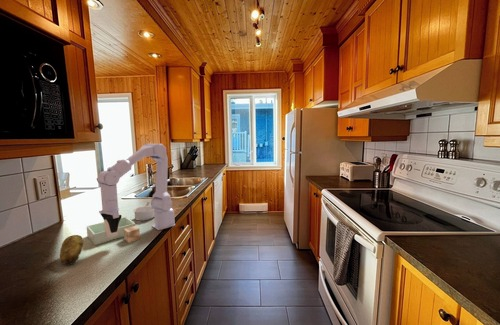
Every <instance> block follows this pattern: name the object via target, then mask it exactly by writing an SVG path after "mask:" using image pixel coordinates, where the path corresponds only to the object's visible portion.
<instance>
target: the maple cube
mask: <svg viewBox="0 0 500 325" xmlns="http://www.w3.org/2000/svg"><path fill="white" fill-rule="evenodd" d="M140 234H141V233H140V228H139V227H138V226H136V225H135V226H133V227H130V228H126V229H124V237H123V238H124V240H125V241H126V242H127V243H128V242H129V243H132V242H134V240H135V241H139V240H140V239H141V235H140ZM131 241H132V242H131Z"/></svg>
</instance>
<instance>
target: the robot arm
mask: <svg viewBox="0 0 500 325" xmlns="http://www.w3.org/2000/svg"><path fill="white" fill-rule="evenodd" d="M146 157H149V158H152V159H153V161H155V162H156V168H155V169H156V170H155V171H156V172H155V179H156V180H155V192H154V193H153V194H152V198H151V202H150V206H152V207H153V208H154V214H155V216H154V224H152V225H151V227H152V228H154V229H156V230H157V231H161V230H164V229H168V228H171V227H175V226H176V223H175V222H176V220H175V217H176V216H175V211H174V209H173V208H172V205H173V201H172V199H171V198H172V196H171V195H170V193H169V192H168V170H169V169H168V168H169V158H168V155H167V147H166V146H165V145H164V144H163V143H150V142H148V143H145V144H144V145H142V146H141V147H140V148H139V149H138V150H137V151H135V152H134V153H133V154H131V156H129V157H128V158H126V159H119V160H117V161H116V163H115V164H113V165H112V166H110V167H108V168H107V170H103V171H100V172H99V174H98V175H97V177H96V181H97V183H98V184H99V185H100V197H101V198H100V199H101V209H102V210H99V211H98V214H100V216H101V217H102V219H103V221H104V220H105V219H106V220H107V222H108V224H109V227H110V231H111V233H114V232H117V230H118V225H119V221H120V219H121V218H123V216H122V214H120V212H119V210H120V208H119V202H118V200H119V199H118V198H119V197H118V187H117V184H118V183H119V182H120V178H122V177H123V176H125V175H126V174H127V173H128V172H130V171H131V170H132V167H133V165H135V164H136V163H138V162H140V161H141V160H142V159H144V158H146Z"/></svg>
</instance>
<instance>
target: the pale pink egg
mask: <svg viewBox="0 0 500 325" xmlns="http://www.w3.org/2000/svg"><path fill="white" fill-rule="evenodd" d="M103 222H104V225H105V237H107V238H111V237H115V236H117V235H119V226H118V230H117V232H114V233H111V231H110V227H109V224H108V222H107V220H106V219H105V220H104V219H103Z"/></svg>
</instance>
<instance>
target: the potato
mask: <svg viewBox="0 0 500 325" xmlns="http://www.w3.org/2000/svg"><path fill="white" fill-rule="evenodd" d="M83 240H84V238H83V237H82V236H81V235H79V234H74V235H71V236H67V237H66V238H65V239H64V240H63V242H62V244H61V247H60V251H59V262H61V264H62V265H67V266H69V265H72V264H74V263H76V261H78V259H80V255H81V253H82V249H83V247H84V241H83Z"/></svg>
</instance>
